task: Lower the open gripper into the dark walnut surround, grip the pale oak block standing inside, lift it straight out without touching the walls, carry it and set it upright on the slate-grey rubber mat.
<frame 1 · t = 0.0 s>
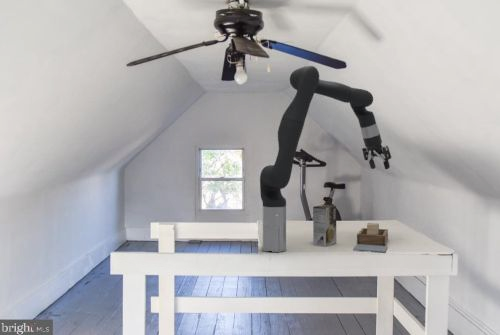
hand: (380, 168, 196), 31 cm above the table, tool tilted 20°, fingers open, 8 cm apart
oak block: (372, 233, 185), in the walnut surround
walnut surround: (372, 242, 185), on the table
coffee box: (324, 244, 181), on the table
slate mat: (370, 249, 170), on the table
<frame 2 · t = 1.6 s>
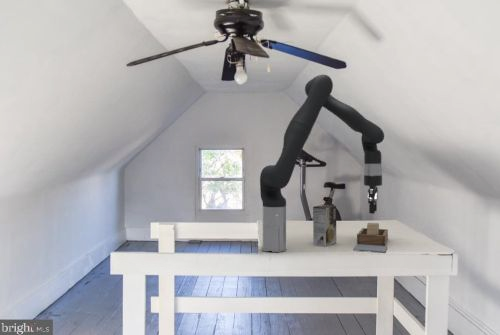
hand: (373, 212, 185), 13 cm above the table, tool pointing down, fingers open, 8 cm apart
nothing on the table moved.
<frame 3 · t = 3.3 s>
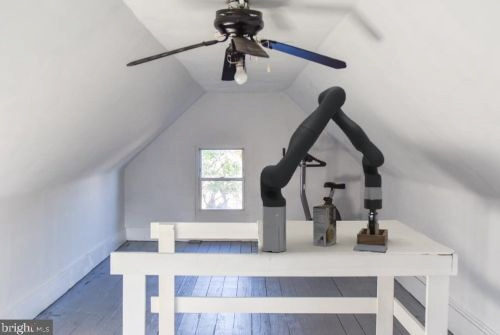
hand: (373, 237, 185), 2 cm above the table, tool pointing down, fingers closed on oak block, 4 cm apart
oak block: (373, 233, 185), in the walnut surround, touching gripper
everything else where it was.
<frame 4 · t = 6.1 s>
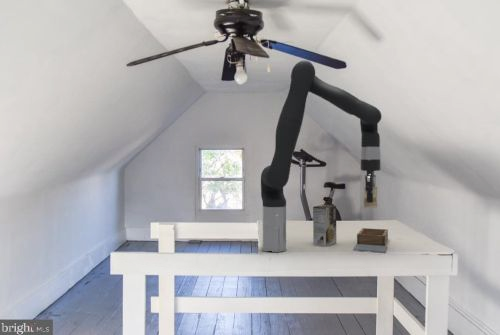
hand: (370, 201, 170), 19 cm above the table, tool pointing down, fingers closed on oak block, 4 cm apart
oak block: (370, 197, 170), point 21 cm above the table, touching gripper
everything else where it was.
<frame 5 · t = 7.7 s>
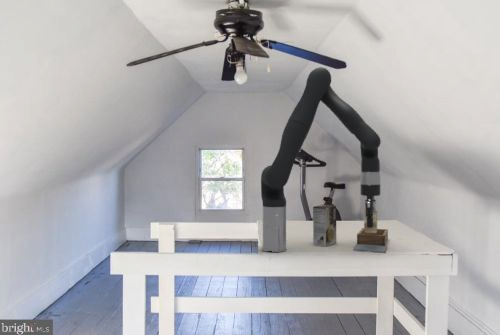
hand: (370, 226, 170), 9 cm above the table, tool pointing down, fingers closed on oak block, 4 cm apart
oak block: (370, 221, 170), point 11 cm above the table, touching gripper
everything else where it was.
when the fingers open (4 cm above the table, at t = 9.2 s): oak block drops 1 cm, resting on slate mat.
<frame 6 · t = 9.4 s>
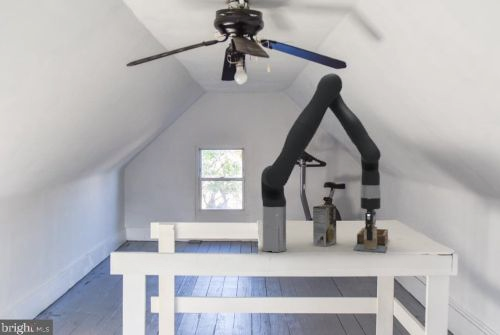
hand: (370, 238, 170), 4 cm above the table, tool pointing down, fingers open, 6 cm apart
oak block: (370, 237, 170), on the slate mat, point 5 cm above the table
everything else where it was.
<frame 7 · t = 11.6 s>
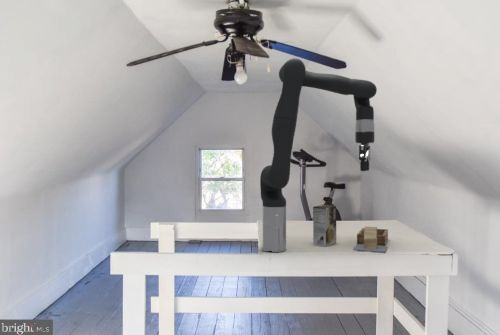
hand: (364, 170, 177), 31 cm above the table, tool pointing down, fingers open, 8 cm apart
nothing on the table moved.
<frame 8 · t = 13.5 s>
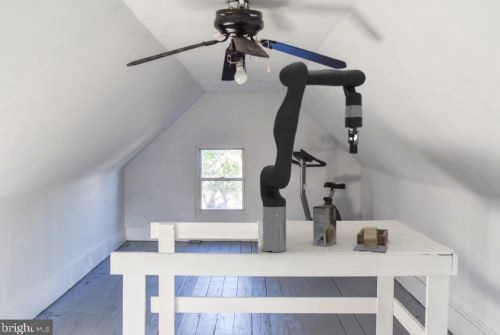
hand: (353, 153, 189), 38 cm above the table, tool pointing down, fingers open, 8 cm apart
nothing on the table moved.
at the end: oak block inside the target area on the slate mat (0.0 cm from its centre), point 4.6 cm above the slate mat's base; oak block tilted 0°; the gripper is holding nothing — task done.
